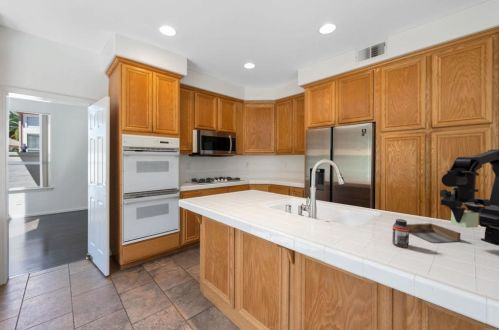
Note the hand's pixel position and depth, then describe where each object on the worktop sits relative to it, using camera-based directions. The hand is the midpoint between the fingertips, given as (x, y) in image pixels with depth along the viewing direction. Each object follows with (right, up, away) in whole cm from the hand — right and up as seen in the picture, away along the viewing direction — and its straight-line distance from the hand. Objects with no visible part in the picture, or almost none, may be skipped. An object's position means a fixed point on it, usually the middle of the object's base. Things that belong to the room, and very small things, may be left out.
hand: (464, 222), depth 95 cm
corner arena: (-4, -10, +13) cm, 17 cm away
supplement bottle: (-26, -11, +2) cm, 29 cm away
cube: (0, -1, 0) cm, 1 cm away
